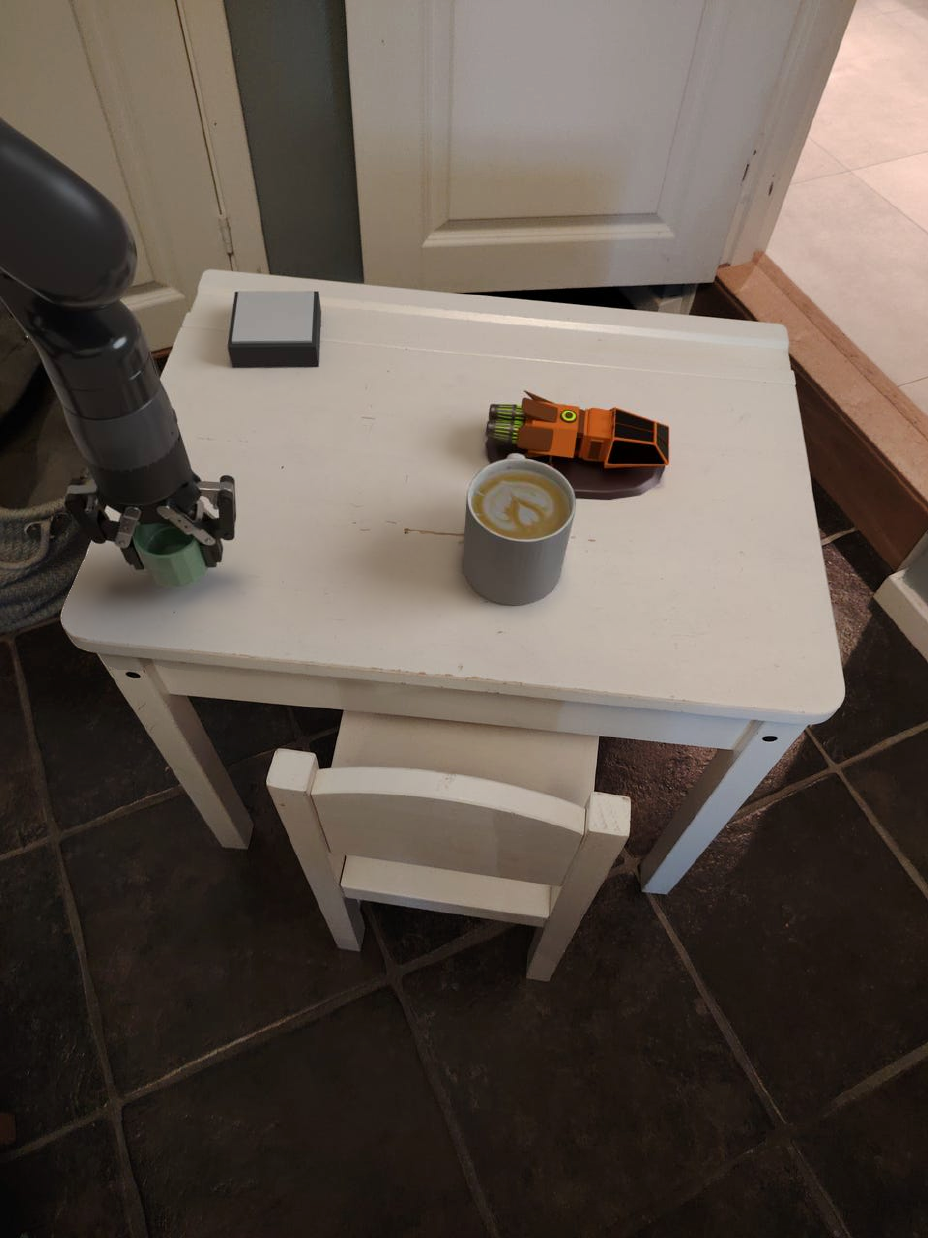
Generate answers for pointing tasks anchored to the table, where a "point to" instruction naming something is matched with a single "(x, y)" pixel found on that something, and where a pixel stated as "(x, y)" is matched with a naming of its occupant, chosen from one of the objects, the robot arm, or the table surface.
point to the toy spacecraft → (582, 445)
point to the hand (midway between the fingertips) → (178, 560)
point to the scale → (275, 329)
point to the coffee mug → (516, 530)
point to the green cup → (169, 554)
